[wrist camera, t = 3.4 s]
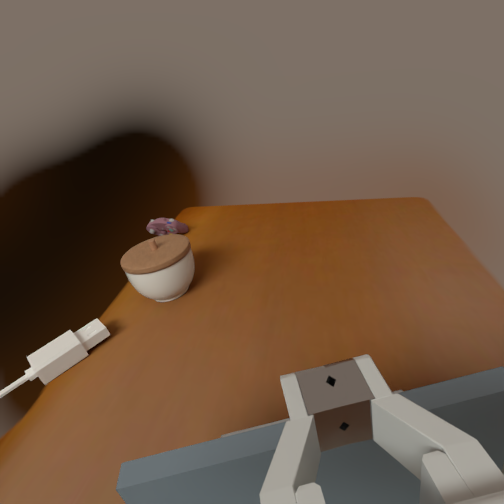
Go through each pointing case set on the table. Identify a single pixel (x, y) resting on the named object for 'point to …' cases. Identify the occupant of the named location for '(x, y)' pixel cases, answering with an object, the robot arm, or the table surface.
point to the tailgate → (331, 461)
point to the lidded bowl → (160, 267)
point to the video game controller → (166, 227)
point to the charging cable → (61, 354)
